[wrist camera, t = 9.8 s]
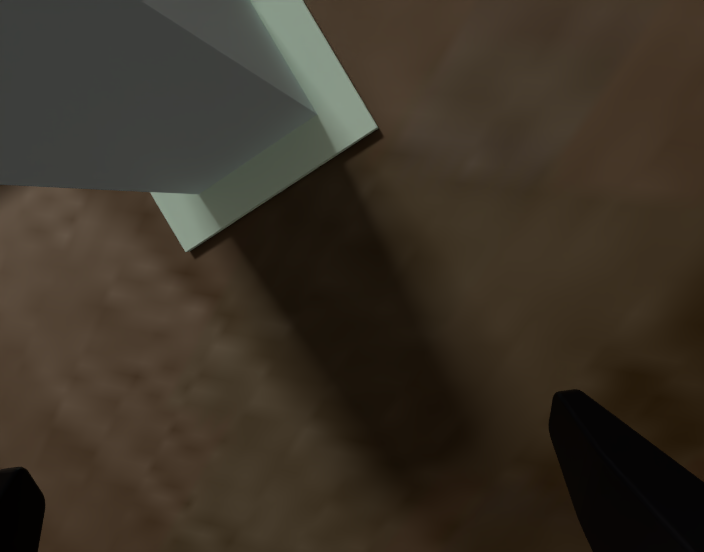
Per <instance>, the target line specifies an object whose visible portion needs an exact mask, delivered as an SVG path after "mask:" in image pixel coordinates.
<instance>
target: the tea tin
mask: <svg viewBox="0 0 704 552" xmlns="http://www.w3.org/2000/svg"><path fill="white" fill-rule="evenodd" d="M316 115H317V113H316V111H315V110H314V108H313V106H312V105H311V103H310V101H309V100H308V98H307V96H306V94H305V93H304V91H303V89H302V88H301V86H300V84H299V83H298V81H297V79H296V78H295V76H294V74H293V73H292V71H291V69H290V67H289V66H288V64H287V62H286V61H285V59H284V57H283V56H282V54H281V52H280V51H279V49H278V47H277V46H276V44H275V42H274V40H273V39H272V37H271V35H270V34H269V32H268V30H267V29H266V27H265V25H264V24H263V22H262V20H261V18H260V17H259V15H258V13H257V12H256V10H255V8H254V7H253V5H252V3H251V2H250V0H0V185H19V186H39V187H59V188H79V189H99V190H120V191H140V192H160V193H180V194H200V193H201V192H203V191H204V190H206V189H207V188H209V187H210V186H212V185H213V184H215V183H216V182H218V181H219V180H221V179H222V178H224V177H225V176H227V175H228V174H230V173H231V172H233V171H234V170H236V169H237V168H238V167H240V166H241V165H243V164H244V163H246V162H247V161H249V160H250V159H252V158H253V157H255V156H256V155H258V154H259V153H261V152H262V151H264V150H265V149H267V148H268V147H270V146H271V145H273V144H274V143H276V142H277V141H278V140H280V139H281V138H283V137H284V136H286V135H287V134H289V133H290V132H292V131H293V130H295V129H296V128H298V127H299V126H301V125H302V124H304V123H305V122H307V121H308V120H310V119H311V118H313V117H314V116H316Z"/></svg>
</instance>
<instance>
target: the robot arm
mask: <svg viewBox="0 0 704 552" xmlns="http://www.w3.org/2000/svg"><path fill="white" fill-rule="evenodd" d="M549 433H550V437H551V440H552V443H553V446H554V449H555V452H556V455H557V458H558V461H559V464H560V467H561V470H562V473H563V476H564V479H565V482H566V485H567V488H568V491H569V494H570V497H571V500H572V503H573V506H574V508H575V511H576V514H577V517H578V520H579V522H580V524H581V527H582V529H583V531H584V534H585V536H586V538H587V540H588V542H589V544H590V546H591V549H592V551H593V552H704V482H703V481H701V480H700V479H699V478H697V477H696V476H695V475H693V474H692V473H691V472H689V471H688V470H687V469H685V468H684V467H683V466H681V465H680V464H679V463H677V462H676V461H675V460H673V459H672V458H671V457H669V456H668V455H667V454H665V453H664V452H663V451H661V450H660V449H659V448H657V447H656V446H655V445H653V444H652V443H651V442H649V441H648V440H647V439H645V438H644V437H643V436H641V435H640V434H639V433H637V432H636V431H635V430H633V429H632V428H631V427H629V426H628V425H626V424H625V423H624V422H622V421H621V420H620V419H618V418H617V417H616V416H614V415H613V414H612V413H610V412H609V411H608V410H606V409H605V408H604V407H602V406H601V405H600V404H598V403H597V402H596V401H594V400H593V399H592V398H590V397H589V396H588V395H586V394H585V393H584V392H582V391H580V390H577V389H573V390H566V391H559V392H556V393H555V394H554V396H553V400H552V406H551V412H550V418H549ZM44 512H45V499H44V496H43V493H42V492H41V490H40V489H39V487H38V486H37V484H36V483H35V481H34V480H33V478H32V476H31V475H30V473H29V472H28V471H27V469H25V468H23V467H13V468H6V469H0V552H38V547H39V541H40V536H41V530H42V524H43V518H44Z"/></svg>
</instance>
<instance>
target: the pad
mask: <svg viewBox="0 0 704 552" xmlns="http://www.w3.org/2000/svg"><path fill="white" fill-rule="evenodd" d="M250 2H251V3H252V5H253V7H254V8H255V10H256V12H257V13H258V15H259V17H260V18H261V20H262V22H263V24H264V25H265V27H266V29H267V30H268V32H269V34H270V35H271V37H272V39H273V40H274V42H275V44H276V46H277V47H278V49H279V51H280V52H281V54H282V56H283V57H284V59H285V61H286V62H287V64H288V66H289V67H290V69H291V71H292V73H293V74H294V76H295V78H296V79H297V81H298V83H299V84H300V86H301V88H302V89H303V91H304V93H305V94H306V96H307V98H308V100H309V101H310V103H311V105H312V106H313V108H314V110H315V111H316V113H317V115H316V116H314V117H313V118H311V119H310V120H308V121H307V122H305V123H304V124H302V125H301V126H299V127H298V128H296V129H295V130H293V131H292V132H290V133H289V134H287V135H286V136H284V137H283V138H281V139H280V140H278V141H277V142H276V143H274V144H273V145H271V146H270V147H268V148H267V149H265V150H264V151H262V152H261V153H259V154H258V155H256V156H255V157H253V158H252V159H250V160H249V161H247V162H246V163H244V164H243V165H241V166H240V167H238V168H237V169H236V170H234V171H233V172H231V173H230V174H228V175H227V176H225V177H224V178H222V179H221V180H219V181H218V182H216V183H215V184H213V185H212V186H210V187H209V188H207V189H206V190H204V191H203V192H201V193H200V194H180V193H160V192H150V193H151V195H152V196H153V198H154V200H155V201H156V203H157V205H158V206H159V208H160V210H161V212H162V213H163V215H164V217H165V218H166V220H167V222H168V223H169V225H170V227H171V228H172V230H173V232H174V233H175V235H176V237H177V238H178V240H179V242H180V243H181V245H182V247H183V248H184V250H185V252H189V251H191V250H192V249H194V248H196V247H197V246H199V245H200V244H202V243H203V242H205V241H206V240H208V239H209V238H211V237H212V236H214V235H215V234H217V233H219V232H220V231H222V230H223V229H225V228H226V227H228V226H229V225H231V224H232V223H234V222H235V221H237V220H239V219H240V218H242V217H243V216H245V215H246V214H248V213H249V212H251V211H252V210H254V209H255V208H257V207H258V206H260V205H262V204H263V203H265V202H266V201H268V200H269V199H271V198H272V197H274V196H275V195H277V194H278V193H280V192H282V191H283V190H285V189H286V188H288V187H289V186H291V185H292V184H294V183H295V182H297V181H298V180H300V179H301V178H303V177H305V176H306V175H308V174H309V173H311V172H312V171H314V170H315V169H317V168H318V167H320V166H321V165H323V164H324V163H326V162H328V161H329V160H331V159H332V158H334V157H335V156H337V155H338V154H340V153H341V152H343V151H344V150H346V149H348V148H349V147H351V146H352V145H354V144H355V143H357V142H358V141H360V140H361V139H363V138H364V137H366V136H367V135H369V134H371V133H372V132H374V131H375V130H377V129H378V126H377V125H376V123H375V121H374V119H373V118H372V116H371V114H370V113H369V111H368V109H367V108H366V106H365V104H364V103H363V101H362V99H361V98H360V96H359V94H358V92H357V91H356V89H355V87H354V86H353V84H352V82H351V81H350V79H349V77H348V76H347V74H346V72H345V71H344V69H343V67H342V65H341V64H340V62H339V60H338V59H337V57H336V55H335V54H334V52H333V50H332V49H331V47H330V45H329V44H328V42H327V40H326V38H325V37H324V35H323V33H322V32H321V30H320V28H319V27H318V25H317V23H316V22H315V20H314V18H313V17H312V15H311V13H310V12H309V10H308V8H307V6H306V5H305V3H304V1H303V0H250Z"/></svg>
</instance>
